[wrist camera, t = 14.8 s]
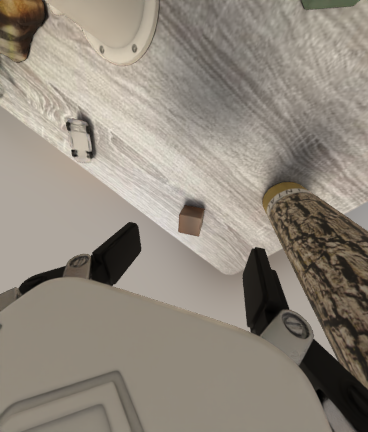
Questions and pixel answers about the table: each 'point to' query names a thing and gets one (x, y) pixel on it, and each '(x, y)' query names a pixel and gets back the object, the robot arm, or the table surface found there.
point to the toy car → (79, 140)
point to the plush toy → (19, 26)
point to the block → (191, 220)
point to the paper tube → (326, 268)
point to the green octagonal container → (327, 3)
